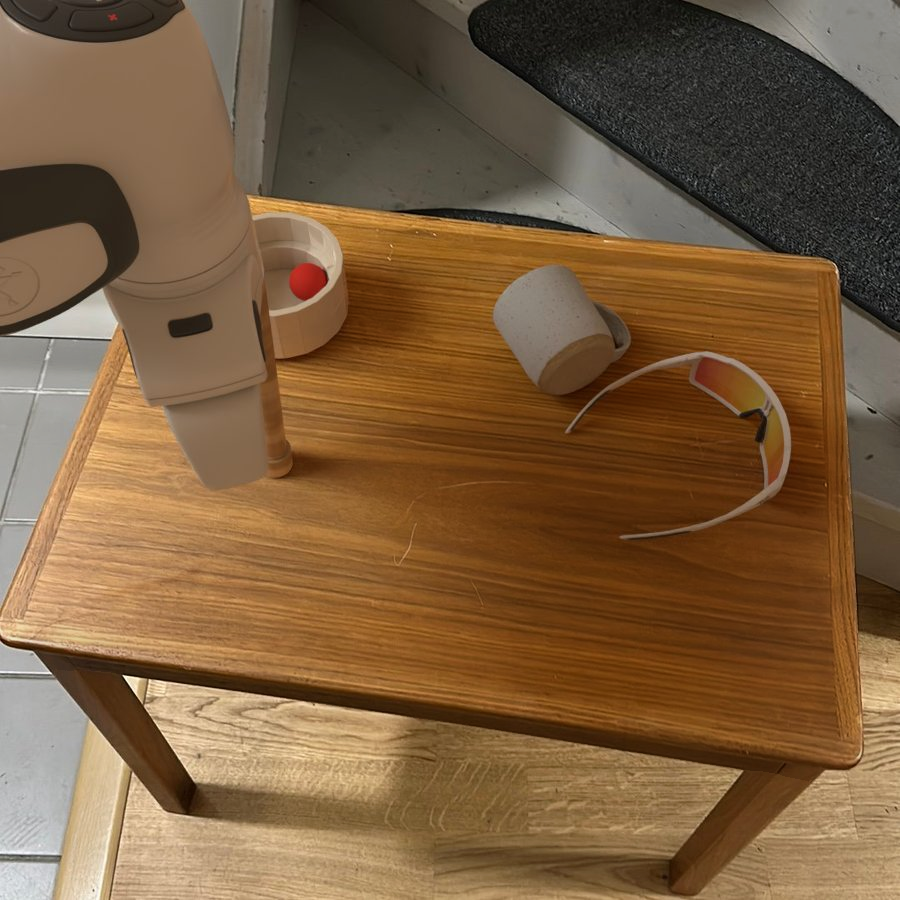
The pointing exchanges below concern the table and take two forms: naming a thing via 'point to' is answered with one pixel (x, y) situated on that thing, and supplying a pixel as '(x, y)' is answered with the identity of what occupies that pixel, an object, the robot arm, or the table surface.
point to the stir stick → (273, 402)
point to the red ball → (307, 281)
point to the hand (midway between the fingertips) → (227, 402)
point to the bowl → (282, 251)
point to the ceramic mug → (558, 329)
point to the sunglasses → (744, 399)
